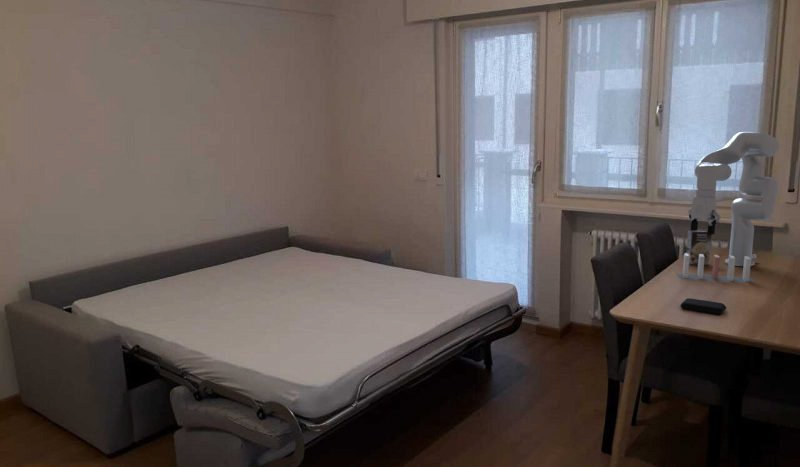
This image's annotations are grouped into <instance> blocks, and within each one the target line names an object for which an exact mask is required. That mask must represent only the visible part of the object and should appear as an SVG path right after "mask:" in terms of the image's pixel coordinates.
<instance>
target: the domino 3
mask: <svg viewBox="0 0 800 467" xmlns="http://www.w3.org/2000/svg"><path fill="white" fill-rule="evenodd" d="M728 259H729V261H728V264H727V276H726V277H727V278H728V280H729V281H733V278H734V277H735V268H736V266H735V257H734V256H729V255H728Z"/></svg>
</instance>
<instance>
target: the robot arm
mask: <svg viewBox="0 0 800 467" xmlns="http://www.w3.org/2000/svg"><path fill="white" fill-rule="evenodd" d="M779 150H780V143H779V141H778V140H777V138H776V137H774V136H772V135H770V134H768V133H765V132H763V131H762V132H759V131H741V132H737V133H736V134H734V136H733V137H732V138H731V139H730V140H729V141H728V142H727V143H726V145H725V146H724V147H722V148H720V149H718V150H714V151H712V152H710V153H708V154H705V155H704V156H703V157H702V158H701V159H700V160H699V162H698V163H697V164H696V166H695V168H694V175H695V177H696V188H695V195H694V197H693V199H692V203H691V209H689V210H687V213H688V218H689V220H690V230H691V231H694V230H698V227H699V226H698V225H699V221H700V220H701V221H706V222H707V223H708V224H709V225H708V226H707V230H708V232H707V234H708V235H711V234H712V235H715V230H716V226H717V224H718V223H719V221H720V219H721V215H719V214H718V212H717V198H716V192H717V191H716V190H717V181H719V182H724V181H728V179H730V177H731V176H732V168H731V166H730V165H731V164H735V163H738V162H739V161H740V160H741V161H742V171H741V176H740V179H739V180H740V181H739V184H738V191H739V194H740V195H743V196H749V197H757V198H762V199H757V198H756V199H755V198H746V197H745V198H744V197H743V198H742V197H741V198H739V197H738V198H735V199H734V200H732V202H731V206H730V212H731V230H730V240H729V241H730V242H729V250H728V251H729V252H728V257H729V256H734V257H735V267H743V266H744V256H748V257H749V258H750V259H751V265H750V267H753V266H755V263H756V262H755V261H754V260H753V259H756V258H757V254H755V253H753V246H754V245H753V243H754V237H755V234H754V233H755V226H754V224H753V222H752V221H751V220H754V221H763V222H764V221H765V222H766V221H770V220H771V218H772V216H773V213H774V210H775V206H776V201H777V198H778V197H777V196H778V192H779V185H778V184H779V183H778V181H777V179H776V178H775V177H771V176H770V177H769V176H763V172H764V167H765V166H764V163H763V161H762V160H761V159H760V157H767V158H768V157H770V158H771V157H774V156H775V155H776V154H778V152H779ZM698 220H699V221H698ZM728 261H729V258H726V259H725V260H724V263H725V264H727V265H728Z"/></svg>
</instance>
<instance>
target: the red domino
mask: <svg viewBox="0 0 800 467" xmlns="http://www.w3.org/2000/svg"><path fill="white" fill-rule="evenodd" d="M720 258H721V257H720V256H719V255H718V254H713V260H712V271H711V272H712V273H711V276H712V278H713V279H714V280H718V276H719V272H720V261H721V259H720Z"/></svg>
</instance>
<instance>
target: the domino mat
mask: <svg viewBox="0 0 800 467" xmlns="http://www.w3.org/2000/svg"><path fill="white" fill-rule="evenodd" d="M676 276H677V277H678V279H681V280H682V279H683V280H695V281H696V280H699V281H711V282H712V281H713V282H717V281H718V282H730V283H731V282H732V283H745V284H746V283H748V284H756V282H755V281H754V279H752V278H751V277H749V282H745V281H744V280H743V279H742V277H739V276H734V278H733V281H729V280H728V278H727V276H721V275H720V276H719V275H718V280H714V279H713V278H712V275H704V274H703V279H699V278H698V276H697V274H690V273H688V278H684V277H683V273H676Z"/></svg>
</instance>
